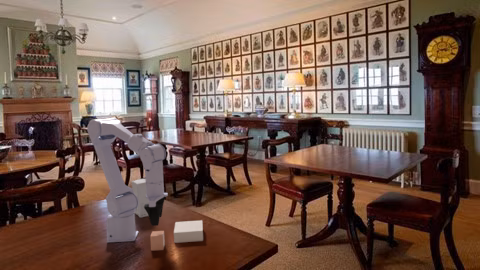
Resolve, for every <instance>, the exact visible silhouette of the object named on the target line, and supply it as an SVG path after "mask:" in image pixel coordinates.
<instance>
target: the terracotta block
mask: <svg viewBox="0 0 480 270" xmlns="http://www.w3.org/2000/svg"><path fill="white" fill-rule="evenodd" d="M165 239H166V238H165V230H156V231H153V230H152V231H151V234H150V250H151V251H164V249H165V245H166V244H165V243H166V241H165Z"/></svg>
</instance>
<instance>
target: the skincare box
mask: <svg viewBox="0 0 480 270" xmlns="http://www.w3.org/2000/svg"><path fill="white" fill-rule="evenodd" d="M131 188H132V189H133V191H134V193H135V194H136V196H137V197H138V200H139V205H138V207H137V208H136V212H134V214H135V215H137V216H138V217H139V218H144V217H149V216H148V213H147V212H146V210H145V208H144V205H145V204H149V201H148V200H147V198H146V180H145V178H139V179H134V180H131Z"/></svg>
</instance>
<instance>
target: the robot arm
mask: <svg viewBox="0 0 480 270" xmlns="http://www.w3.org/2000/svg"><path fill="white" fill-rule="evenodd" d="M86 131H87V134H88V137H89V138H90V142H91V144H92V145H93V147H94V150H95V153H96V156H97V157H98V161H99V165H100V166H101V170H102V171H103V174H104V177H105V180H106V182H107V185H108V188H109V192H108V194H107V195H106V197H105V201H106V205H107V207H106V208H107V211H108V213H109V214H108V215H107V217H106V224H105V225H106V239H107V240H106V243H118V242H119V243H120V242H121V243H123V242H124V243H125V242H134V241H136V239H137V236H138V235H139V233H140V232H139V231H138V230H136V214H135V212H136V208H137V207H138V205H139V200H138V197H137V196H136V194H135V193H134V191H133V189H132V187H130V186H128V185H126V184H125V181H124V178H123V175H122V172H121V171H120V168H119V165H118V163H117V160H116V157H115V154H114V152H113V149H112V147H111V146H112V143H114V142H115V140H116V138H119V139H120V140H122V141H124V142H125V143H127V147H128V148H129V149H130V151H133V153H135V154H137V155H138V156H139V158H140V161H141V162H142V166H143V167H142V168H143V169H144V175H145V176H144V179H145V180H146V198H147V200H148V201H149V204H145V205H144V208H145V210H146V212H147V213H148V216H147V217H148V218H149V223H150V225H151V226H152V227H153V226H155V227H156V226H159V224H160V218H161V217H162V215H163V209H164V208H163V207H164V202H165V200H166V197H168V196H169V195H168V194H169V193H168V192H165V187H164V185H165V184H164V167H163V166H164V164H163V161H164V160H165V159H166V156H167V153H166V149H165V147H164V146H163V145H162V144H161V143H153V142H152V140H149V139H147V138H145V137H144V135H143V134H142V133H135V134H134V133H132V132H131V131H130V130H129V129H128V128H127V127H125V126H124V125H123V124H122V121H121V119H118V118H116V117H111V118H110V117H108V118H100V119H99V118H98V119H92V118H91V120H89V121H88V126H87V130H86Z"/></svg>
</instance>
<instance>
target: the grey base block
mask: <svg viewBox="0 0 480 270" xmlns="http://www.w3.org/2000/svg"><path fill="white" fill-rule="evenodd" d="M203 229H204V228H203V220H202V219H201V220H187V221H185V220H184V221H175V223H174V229H173V243H176V244H178V243H188V242H190V243H191V242H203V241H204V232H203Z"/></svg>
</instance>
